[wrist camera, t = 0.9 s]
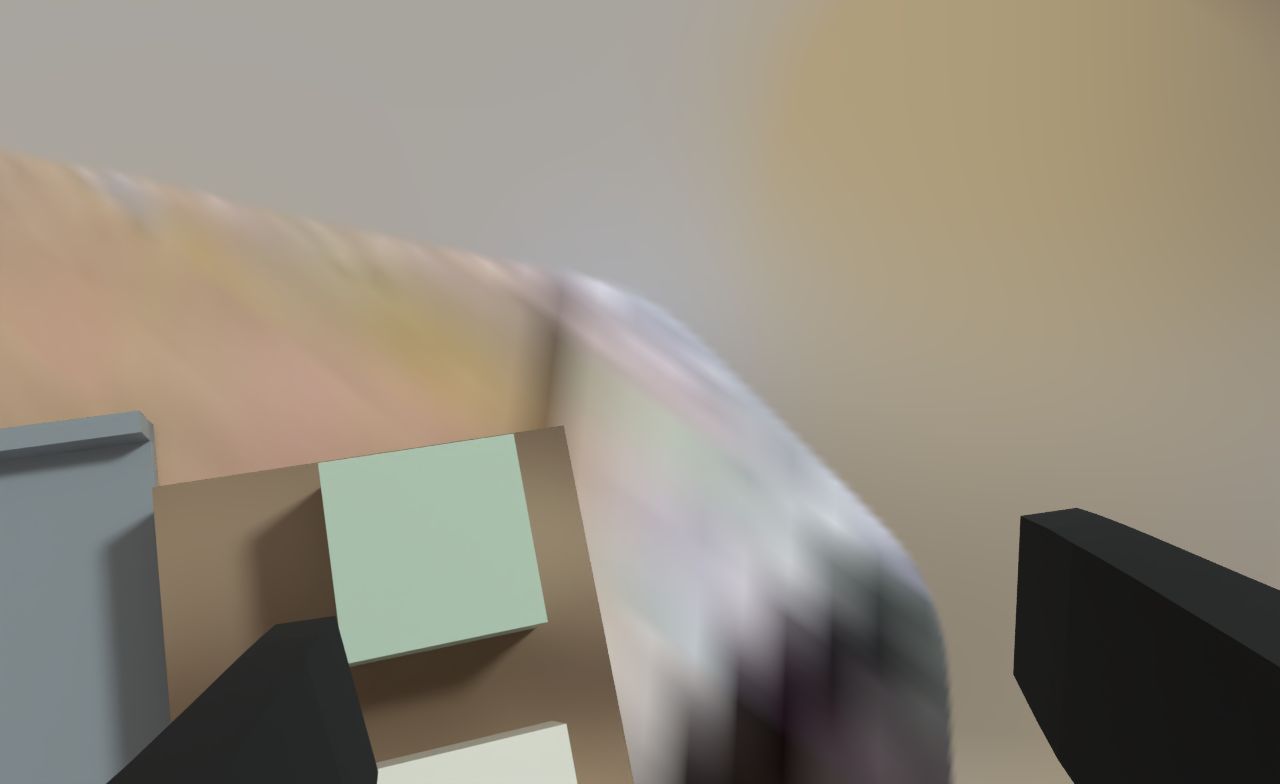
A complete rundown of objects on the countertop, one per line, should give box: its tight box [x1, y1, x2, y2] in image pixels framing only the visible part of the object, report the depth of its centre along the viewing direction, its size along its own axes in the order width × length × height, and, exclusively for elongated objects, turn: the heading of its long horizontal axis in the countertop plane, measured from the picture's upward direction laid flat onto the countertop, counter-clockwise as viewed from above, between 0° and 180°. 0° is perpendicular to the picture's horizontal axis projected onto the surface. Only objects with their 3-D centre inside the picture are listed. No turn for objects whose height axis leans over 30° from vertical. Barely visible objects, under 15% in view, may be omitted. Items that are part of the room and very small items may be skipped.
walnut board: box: [152, 426, 634, 784], centre depth 21 cm, size 12×9×2 cm
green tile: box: [318, 434, 548, 667], centre depth 20 cm, size 4×4×2 cm
